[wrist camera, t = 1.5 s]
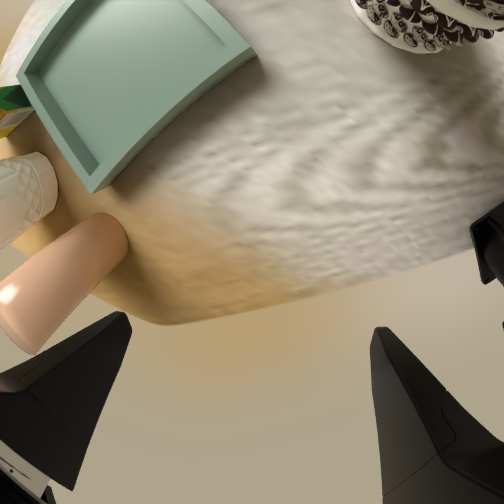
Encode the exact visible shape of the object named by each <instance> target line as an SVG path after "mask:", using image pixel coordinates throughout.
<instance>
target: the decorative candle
mask: <svg viewBox="0 0 504 504" xmlns="http://www.w3.org/2000/svg"><path fill="white" fill-rule="evenodd" d="M349 1H350V3H351V5H352V7H353V9H354V12H355V14H356V15H357V16H358V17H359V18H360V20H361V21H362V22H363V23H364V24H365V25H366V26H367V27H368V28H369V29H370V30H371V32H372V33H374V34H375V35H377V36H379V37H380V38H382V39H383V40H385V41H386V42H388V43H389V44H391V45H392V46H394V47H397V48H400V49H403V50H406V51H409V52H412V53H415V54H424V53H437V52H439V51H441V50H443V49H444V50H446V51H449V50H450V49H451V44H452V43H453V44H454V45H455V46H456V47H461V46H462V44H463V41H462V39H463V37H464V38H465V39H466V40H468V41H469V42H472V43H474V42H476V41H477V40H478V38H479V35H481V36H482V37H483V38H485V39H490V38H492V37H493V35H494V30H495V31H498V32H502V31H503V30H504V0H349Z"/></svg>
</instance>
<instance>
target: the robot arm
mask: <svg viewBox="0 0 504 504" xmlns="http://www.w3.org/2000/svg"><path fill="white" fill-rule="evenodd" d="M476 227H477V229H476V230H475V228H476ZM470 232H471V236H472V240H473V244H474V248H475V252H476V257H477V261H478V266H479V271H480V277H481V281H482V282H483V284H485V285H486V284H488V283H489V282H491V281H492V280H494V279H495V278H497V279H498V280H499V281H500V283H501V284H502V285H503V286H504V202H502V203H501V204H499V205H498V206H497V207H495V208H494V209H492V210H491V211H490V212H489V213H487V214H486V215H484V216H483V217H481V218H480V219H478V220H477V221H475V222H474V223H473V224H472V225H471V227H470ZM502 325H503V328H504V322H503V324H502ZM131 335H132V327H131V325H130V322H129V320H128V317H127V315H126V314H125V313H124V312H119V311H115V312H113V313H111V314H109V315H108V316H106V317H104V318H102V319H101V320H99V321H97V322H95V323H93V324H92V325H90V326H88V327H86V328H84V329H83V330H81V331H79V332H77V333H76V334H74V335H72V336H70V337H69V338H67V339H65V340H63V341H61V342H60V343H58V344H56V345H54V346H52V347H51V348H49V349H48V350H46V351H44V352H42V353H40V354H38V355H37V356H35V357H33V358H31V359H29V360H27V361H25V362H23V363H21V364H19V365H17V366H15V367H13V368H11V369H9V370H6V371H4V372H2V373H0V504H56V502H55V499H54V496H53V493H52V489H51V487H50V486H48V485H47V484H48V482H49V480H50V478H51V479H53V480H54V481H56V482H57V483H59V484H61V485H62V486H64V487H66V488H67V489H69V490H70V491H73V489H74V487H75V484H76V480H77V477H78V474H79V471H80V468H81V465H82V462H83V460H84V457H85V454H86V450H87V448H88V445H89V443H90V440H91V437H92V435H93V432H94V429H95V427H96V424H97V422H98V419H99V417H100V414H101V412H102V409H103V407H104V404H105V402H106V399H107V397H108V395H109V392H110V390H111V388H112V385H113V383H114V381H115V378H116V376H117V374H118V371H119V369H120V367H121V364H122V361H123V358H124V355H125V352H126V349H127V346H128V343H129V341H130V338H131ZM370 360H371V379H372V394H373V401H374V408H375V416H376V423H377V431H378V441H379V451H380V462H381V475H382V495H383V504H504V442H502V441H500V440H499V439H497V438H496V437H495V436H493V435H492V434H491V433H490V432H489V431H488V430H487V429H486V428H485V427H484V426H482V425H481V424H480V423H479V422H478V421H477V420H476V419H475V418H474V417H473V416H472V415H470V414H469V413H468V412H467V411H466V410H465V409H464V408H463V407H462V406H461V405H460V404H459V402H458V401H457V400H456V399H454V397H453V396H452V395H451V394H450V393H449V392H448V391H446V388H445V387H444V386H443V385H442V384H441V383H440V382H439V381H438V380H437V379H436V377H435V376H434V375H433V374H432V373H431V372H430V371H429V370H428V369H427V368H426V367H425V366H424V364H423V363H421V361H420V360H419V359H418V358H417V357H416V356H415V355H414V354H413V353H412V352H411V351H410V350H409V349H408V348H407V347H406V345H405V344H404V343H402V341H401V340H400V339H398V337H397V336H396V335H395V334H394V333H393V332H392V331H391V330H390V329H389V328H388V327H376V328H375V330H374V334H373V337H372V341H371V345H370Z"/></svg>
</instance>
